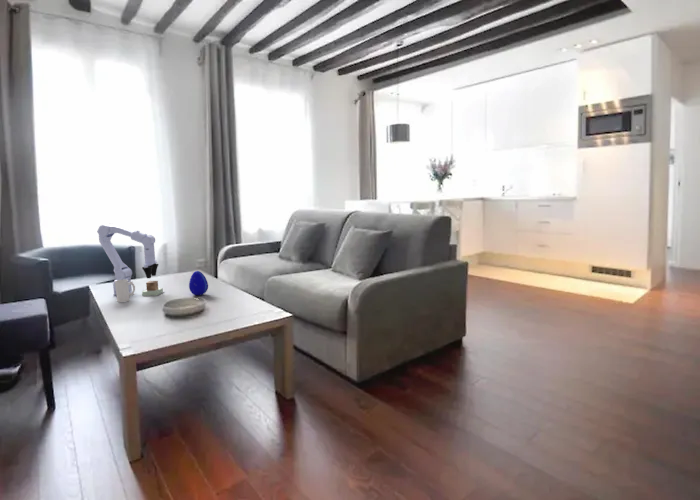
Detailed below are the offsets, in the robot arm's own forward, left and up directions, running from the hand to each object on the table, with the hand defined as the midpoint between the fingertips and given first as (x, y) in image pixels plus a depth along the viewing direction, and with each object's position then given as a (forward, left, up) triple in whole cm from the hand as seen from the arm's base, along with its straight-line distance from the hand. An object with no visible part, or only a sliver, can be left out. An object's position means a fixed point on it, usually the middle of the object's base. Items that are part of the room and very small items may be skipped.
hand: (151, 276), depth 263 cm
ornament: (+30, -8, -11) cm, 33 cm away
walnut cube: (+1, -2, -8) cm, 8 cm away
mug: (-9, -16, -11) cm, 21 cm away
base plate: (+1, -2, -10) cm, 10 cm away
